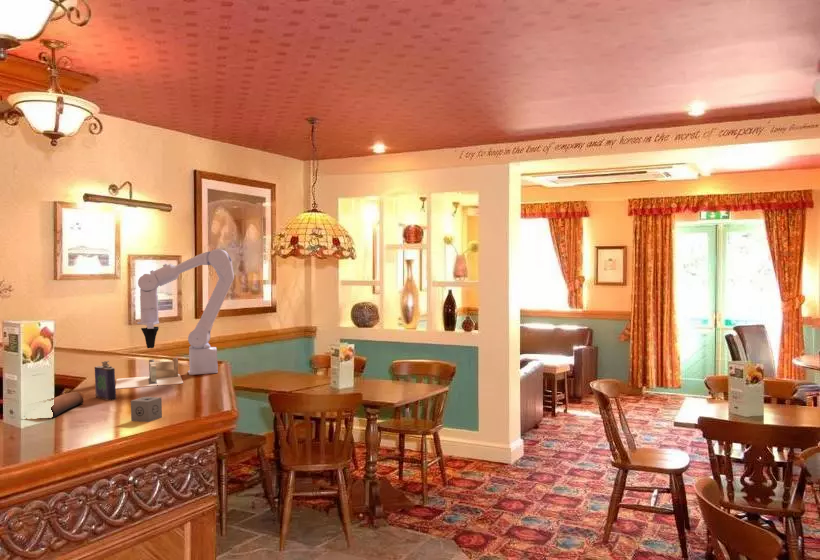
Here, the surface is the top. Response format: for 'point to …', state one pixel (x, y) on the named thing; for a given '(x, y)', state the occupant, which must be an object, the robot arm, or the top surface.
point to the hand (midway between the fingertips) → (150, 348)
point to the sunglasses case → (66, 402)
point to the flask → (105, 382)
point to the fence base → (166, 368)
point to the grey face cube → (146, 409)
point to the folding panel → (153, 371)
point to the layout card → (146, 382)
